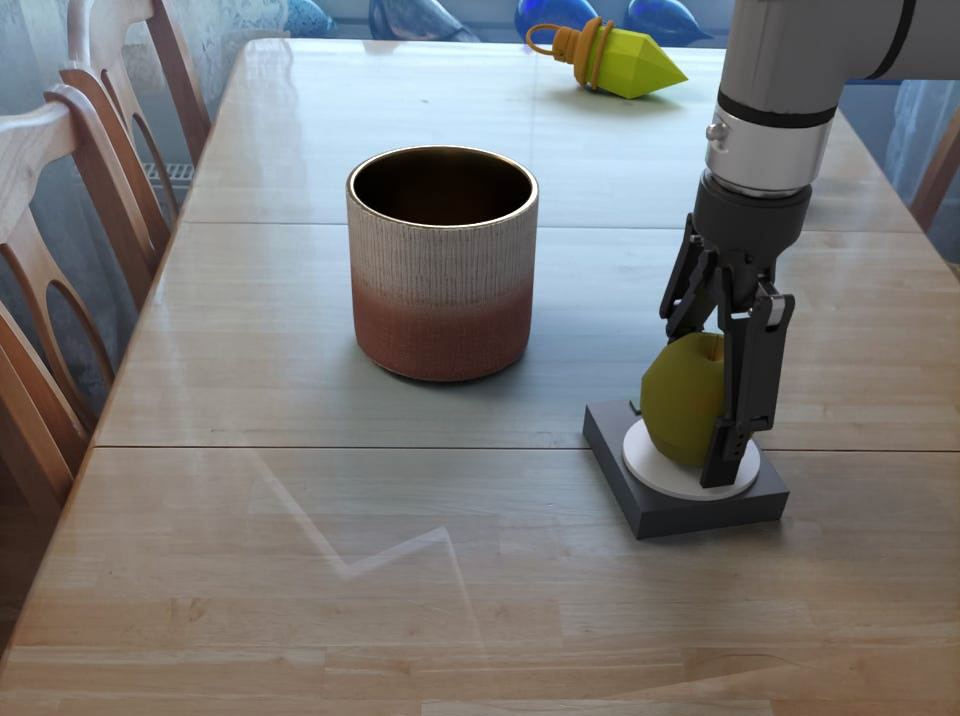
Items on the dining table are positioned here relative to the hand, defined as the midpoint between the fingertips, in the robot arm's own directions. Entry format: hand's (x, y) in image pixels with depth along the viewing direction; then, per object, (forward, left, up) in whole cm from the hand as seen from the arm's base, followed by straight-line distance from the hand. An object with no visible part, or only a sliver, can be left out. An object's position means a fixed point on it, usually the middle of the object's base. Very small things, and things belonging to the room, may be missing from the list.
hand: (692, 444), depth 82 cm
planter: (+16, -26, -4) cm, 31 cm away
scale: (0, -1, -4) cm, 5 cm away
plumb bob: (-22, -89, -4) cm, 92 cm away
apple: (0, 0, -1) cm, 1 cm away
